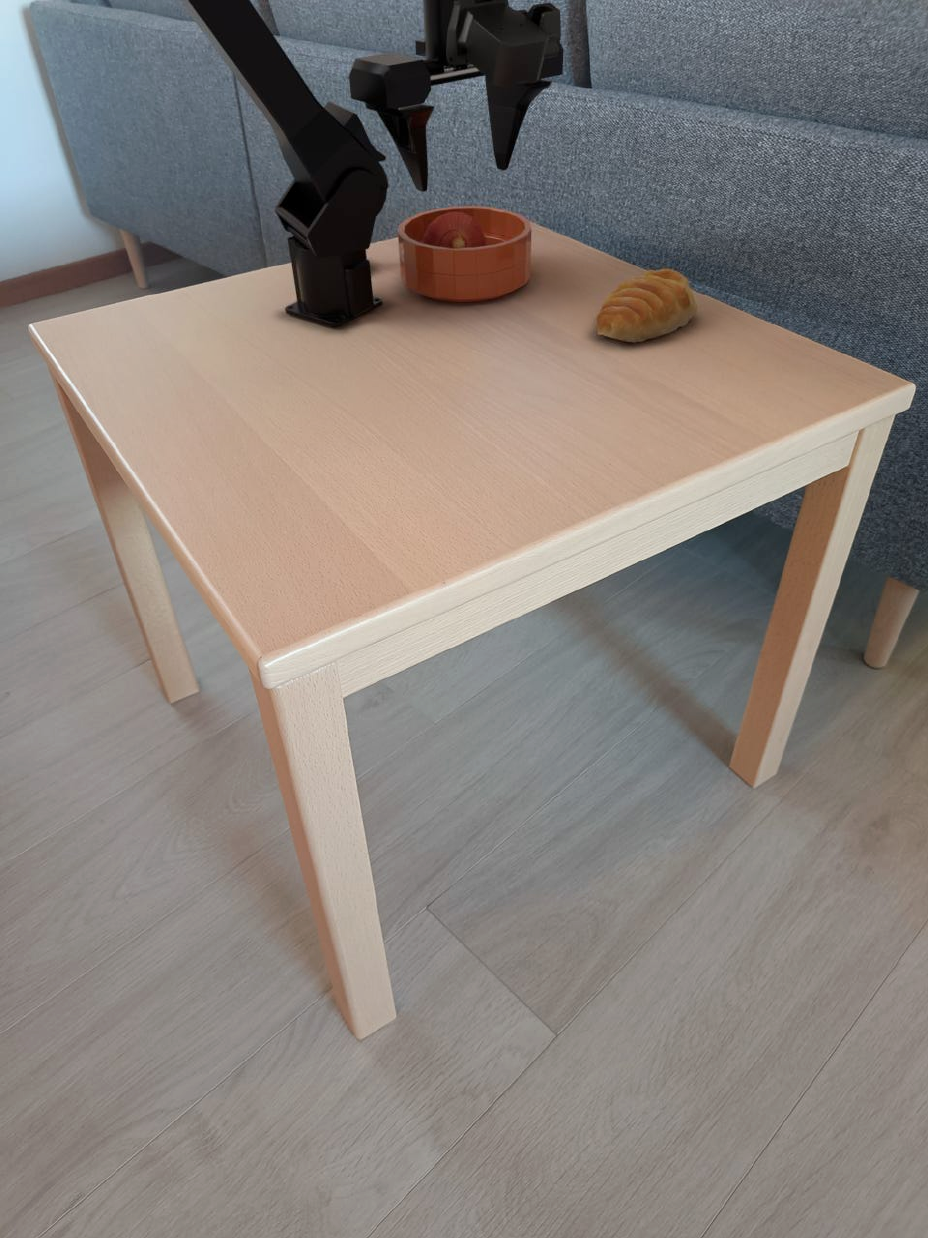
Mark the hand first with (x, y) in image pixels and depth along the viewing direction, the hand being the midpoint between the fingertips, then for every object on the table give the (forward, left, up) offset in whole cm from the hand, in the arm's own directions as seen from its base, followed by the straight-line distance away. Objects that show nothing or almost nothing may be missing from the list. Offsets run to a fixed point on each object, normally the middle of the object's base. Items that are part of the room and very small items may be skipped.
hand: (463, 179), depth 79 cm
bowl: (0, 0, -9) cm, 9 cm away
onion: (+2, -4, -4) cm, 6 cm away
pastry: (+19, 0, -9) cm, 21 cm away
